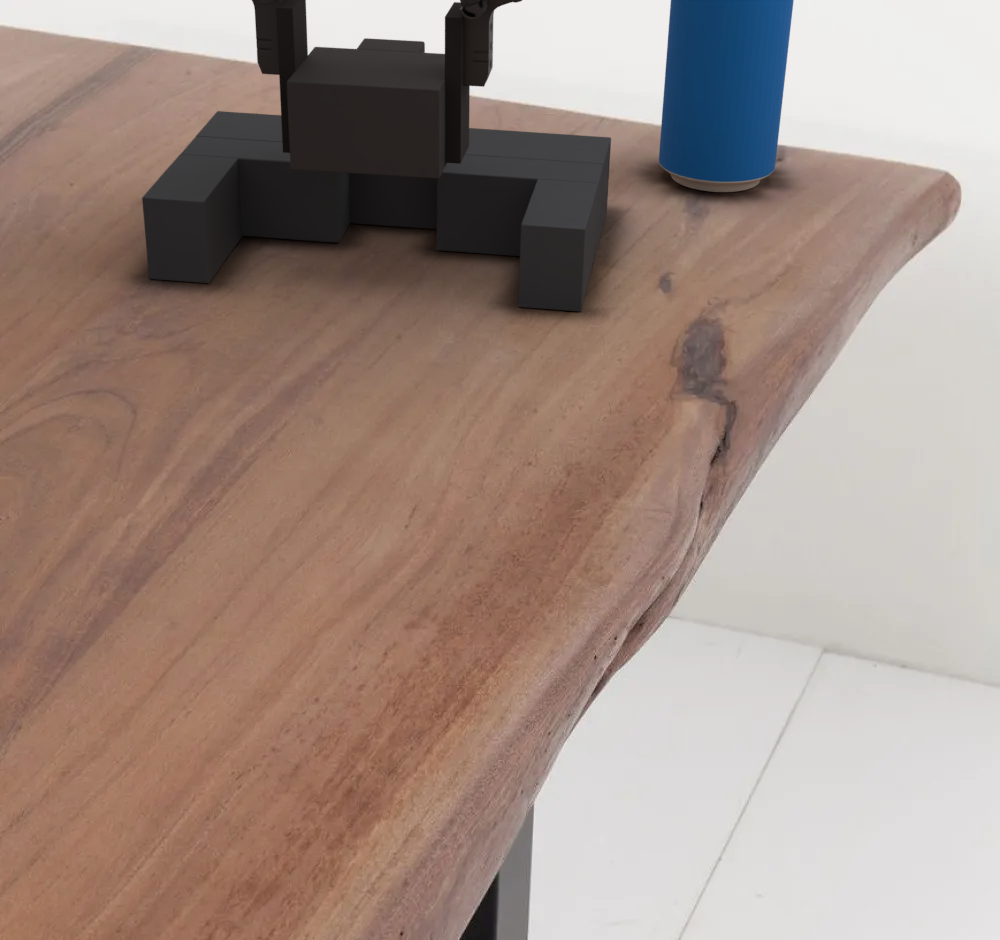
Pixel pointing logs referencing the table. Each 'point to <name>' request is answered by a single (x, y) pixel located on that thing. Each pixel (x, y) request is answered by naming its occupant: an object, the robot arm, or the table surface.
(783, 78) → the beverage can
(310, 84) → the black block
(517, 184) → the pad base
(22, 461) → the table surface
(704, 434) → the table surface
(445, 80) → the robot arm
